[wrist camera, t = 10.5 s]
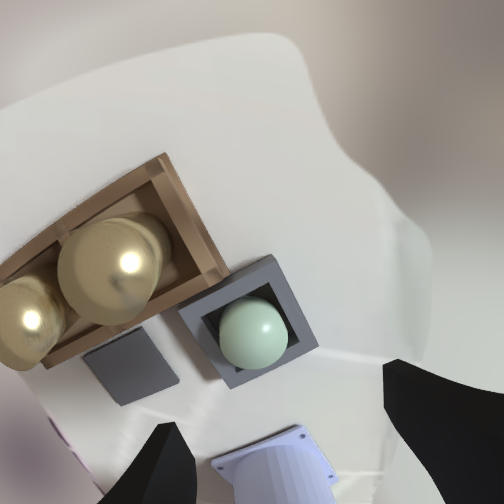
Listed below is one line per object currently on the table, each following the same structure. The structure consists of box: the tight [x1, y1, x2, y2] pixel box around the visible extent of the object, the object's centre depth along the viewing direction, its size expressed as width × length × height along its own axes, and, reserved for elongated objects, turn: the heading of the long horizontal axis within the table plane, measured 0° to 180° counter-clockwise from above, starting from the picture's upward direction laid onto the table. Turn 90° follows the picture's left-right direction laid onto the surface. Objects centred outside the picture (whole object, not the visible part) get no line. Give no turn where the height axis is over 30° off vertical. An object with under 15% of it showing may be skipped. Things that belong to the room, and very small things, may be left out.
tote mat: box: [83, 327, 180, 406], centre depth 19 cm, size 4×5×1 cm
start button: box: [219, 296, 288, 370], centre depth 18 cm, size 4×4×2 cm
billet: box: [0, 263, 81, 371], centre depth 14 cm, size 4×4×6 cm
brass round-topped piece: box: [57, 211, 173, 326], centre depth 14 cm, size 4×4×6 cm
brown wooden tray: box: [0, 152, 230, 370], centre depth 17 cm, size 8×14×2 cm, turn 117°
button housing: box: [178, 254, 319, 389], centre depth 19 cm, size 6×6×2 cm
